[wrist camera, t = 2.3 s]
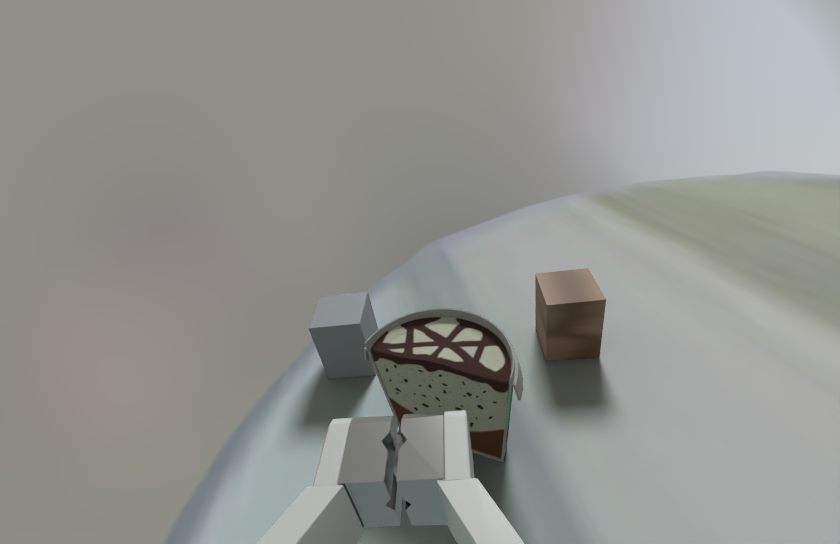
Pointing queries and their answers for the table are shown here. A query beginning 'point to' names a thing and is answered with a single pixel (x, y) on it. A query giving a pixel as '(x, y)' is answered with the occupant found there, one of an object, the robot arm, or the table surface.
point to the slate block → (344, 334)
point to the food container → (449, 371)
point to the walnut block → (569, 314)
